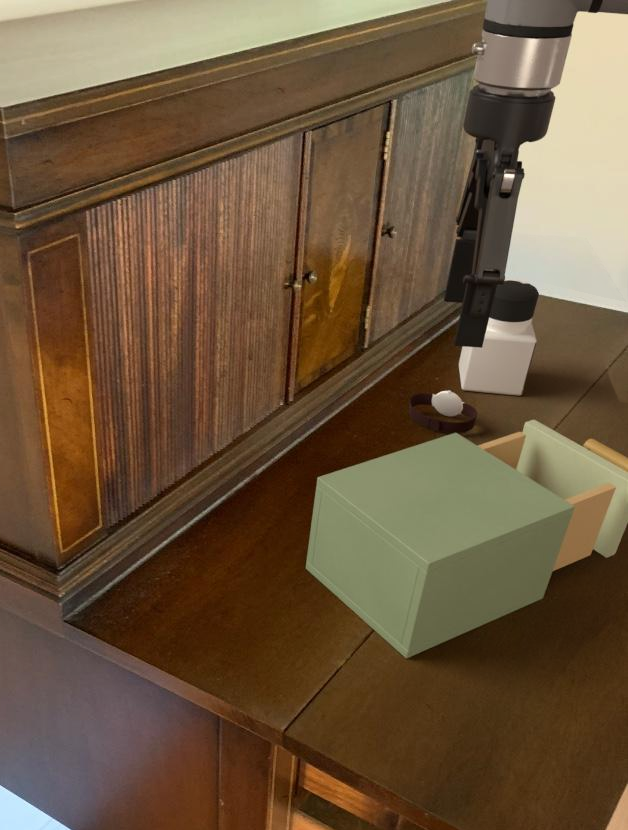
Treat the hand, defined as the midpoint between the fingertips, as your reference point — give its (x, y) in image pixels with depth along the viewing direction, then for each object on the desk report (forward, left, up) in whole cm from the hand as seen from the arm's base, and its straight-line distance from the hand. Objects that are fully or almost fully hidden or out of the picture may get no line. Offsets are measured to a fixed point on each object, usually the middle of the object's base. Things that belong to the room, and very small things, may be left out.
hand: (461, 322), depth 97 cm
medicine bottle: (-7, -12, -12) cm, 18 cm away
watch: (0, 0, -12) cm, 12 cm away
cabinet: (+4, +30, -12) cm, 33 cm away
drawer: (-7, +22, -11) cm, 25 cm away
